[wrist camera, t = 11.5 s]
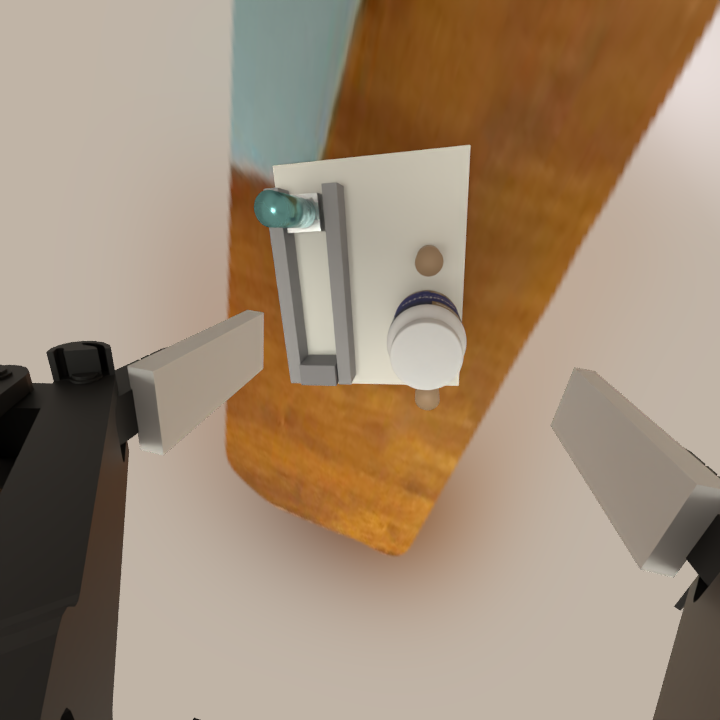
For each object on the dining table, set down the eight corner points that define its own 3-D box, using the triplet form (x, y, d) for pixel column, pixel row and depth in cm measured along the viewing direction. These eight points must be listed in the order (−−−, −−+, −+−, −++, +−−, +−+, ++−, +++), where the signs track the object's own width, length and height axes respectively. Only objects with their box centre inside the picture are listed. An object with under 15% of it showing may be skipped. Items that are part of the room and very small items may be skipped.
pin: (294, 198, 29) (246, 186, 21) (325, 195, 28) (288, 182, 21) (298, 233, 30) (253, 233, 22) (328, 230, 29) (293, 230, 22)
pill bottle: (461, 289, 29) (478, 316, 20) (455, 351, 31) (467, 402, 22) (395, 287, 30) (382, 312, 21) (393, 347, 32) (380, 395, 23)
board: (278, 168, 29) (242, 153, 24) (468, 148, 26) (480, 125, 21) (304, 377, 36) (282, 404, 31) (457, 380, 33) (464, 411, 28)
